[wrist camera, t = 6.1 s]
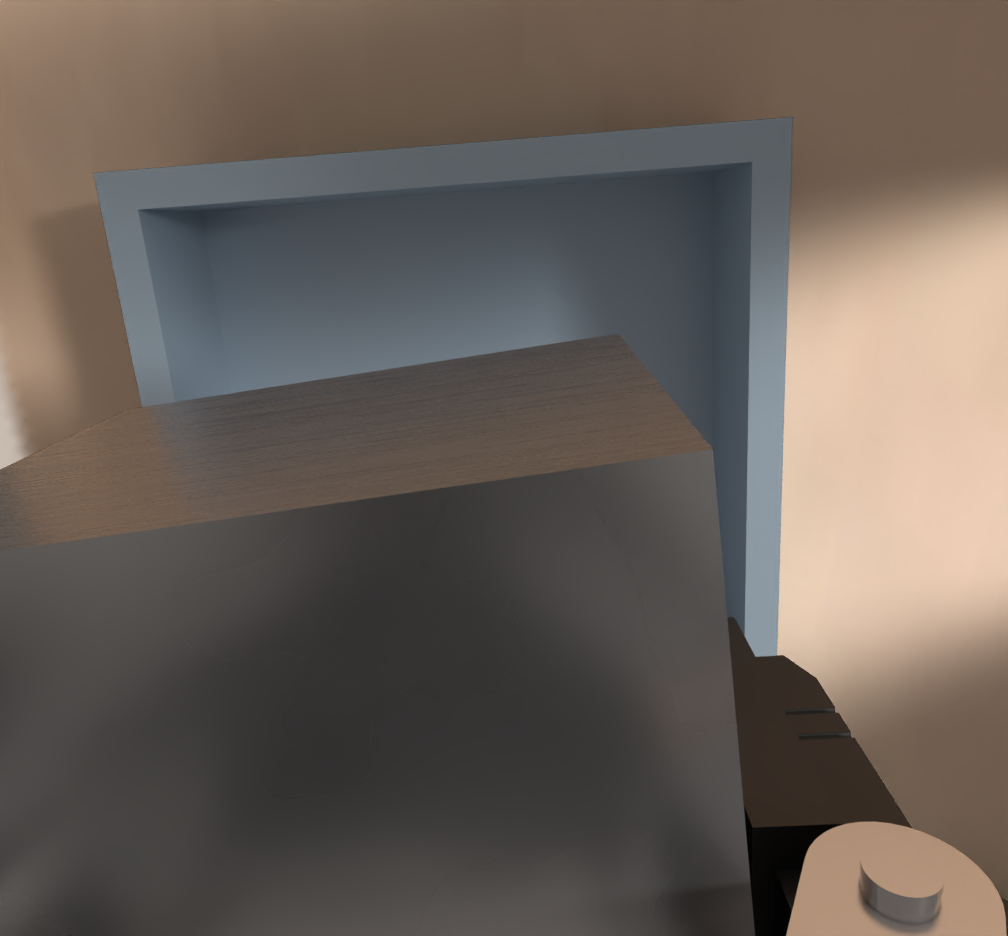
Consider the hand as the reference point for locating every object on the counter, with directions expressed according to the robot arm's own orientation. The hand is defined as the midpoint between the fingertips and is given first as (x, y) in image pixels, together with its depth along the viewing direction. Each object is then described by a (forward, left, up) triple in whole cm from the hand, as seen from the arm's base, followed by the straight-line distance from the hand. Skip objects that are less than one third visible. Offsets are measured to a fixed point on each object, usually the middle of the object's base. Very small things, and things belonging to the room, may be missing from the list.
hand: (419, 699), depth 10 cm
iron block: (0, 0, -1) cm, 1 cm away
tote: (0, 0, -14) cm, 14 cm away
